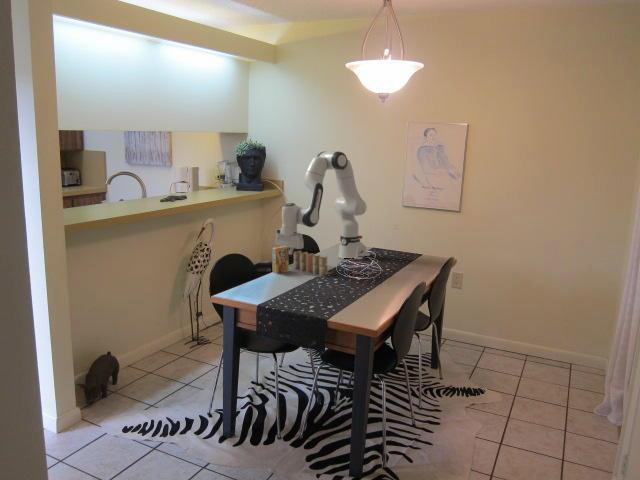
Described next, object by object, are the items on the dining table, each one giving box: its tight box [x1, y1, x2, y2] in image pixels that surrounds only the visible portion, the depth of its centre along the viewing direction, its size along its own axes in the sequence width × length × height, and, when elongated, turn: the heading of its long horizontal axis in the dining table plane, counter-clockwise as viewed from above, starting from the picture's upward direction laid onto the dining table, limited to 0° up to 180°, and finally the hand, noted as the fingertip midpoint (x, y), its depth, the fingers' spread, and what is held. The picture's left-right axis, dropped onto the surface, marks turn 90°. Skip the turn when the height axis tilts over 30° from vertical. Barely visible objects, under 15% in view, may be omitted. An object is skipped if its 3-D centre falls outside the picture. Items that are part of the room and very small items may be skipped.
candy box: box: [271, 245, 290, 274], centre depth 292 cm, size 9×4×15 cm, turn 130°
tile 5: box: [319, 255, 328, 276], centre depth 287 cm, size 5×2×10 cm, turn 138°
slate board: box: [289, 267, 333, 278], centre depth 294 cm, size 12×24×1 cm, turn 48°
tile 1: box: [293, 250, 303, 269], centre depth 300 cm, size 5×2×10 cm, turn 138°
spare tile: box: [306, 253, 315, 272], centre depth 293 cm, size 5×2×10 cm, turn 138°
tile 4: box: [313, 254, 322, 274], centre depth 290 cm, size 5×2×10 cm, turn 138°
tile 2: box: [300, 251, 309, 271], centre depth 296 cm, size 5×2×10 cm, turn 138°
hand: (289, 254), depth 303 cm, fingers closed
